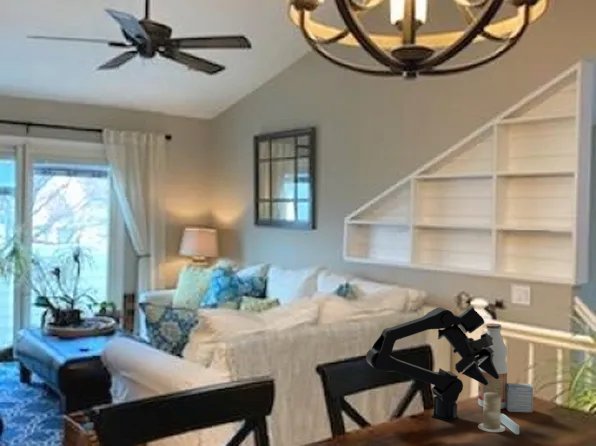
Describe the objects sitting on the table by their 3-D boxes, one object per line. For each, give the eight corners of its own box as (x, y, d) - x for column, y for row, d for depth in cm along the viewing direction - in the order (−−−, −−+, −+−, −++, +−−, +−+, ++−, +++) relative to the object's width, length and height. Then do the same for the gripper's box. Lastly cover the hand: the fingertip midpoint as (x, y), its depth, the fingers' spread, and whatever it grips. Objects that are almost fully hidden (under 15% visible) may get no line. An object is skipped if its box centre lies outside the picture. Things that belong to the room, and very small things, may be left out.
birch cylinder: (480, 427, 204) (481, 394, 204) (487, 423, 208) (488, 391, 208) (495, 430, 201) (496, 397, 201) (502, 426, 205) (503, 394, 205)
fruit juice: (491, 411, 222) (493, 327, 222) (472, 403, 231) (473, 323, 230) (512, 407, 227) (514, 325, 226) (492, 400, 235) (494, 321, 234)
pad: (473, 428, 204) (473, 427, 204) (484, 422, 210) (484, 421, 210) (498, 434, 199) (498, 433, 199) (509, 427, 205) (509, 426, 205)
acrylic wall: (500, 421, 211) (500, 413, 211) (503, 421, 211) (503, 413, 211) (515, 434, 199) (516, 426, 199) (519, 434, 199) (519, 426, 199)
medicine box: (529, 409, 225) (530, 383, 225) (532, 413, 221) (533, 387, 221) (505, 408, 226) (506, 382, 226) (508, 412, 222) (508, 386, 222)
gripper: (465, 330, 203) (500, 371, 196) (488, 322, 218) (521, 360, 211) (440, 352, 208) (474, 393, 201) (464, 342, 223) (496, 381, 216)
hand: (492, 381), depth 207 cm, fingers open, 9 cm apart
